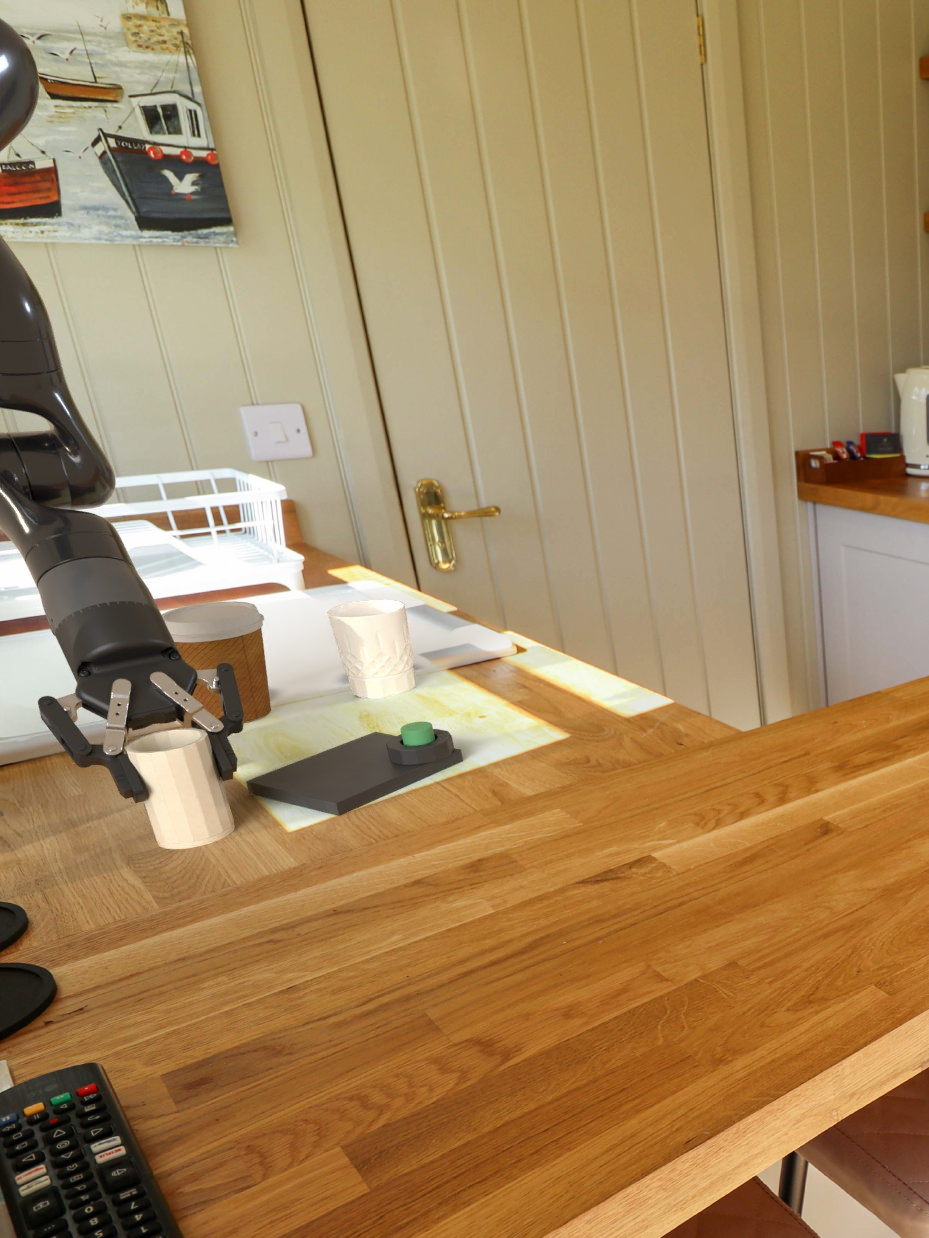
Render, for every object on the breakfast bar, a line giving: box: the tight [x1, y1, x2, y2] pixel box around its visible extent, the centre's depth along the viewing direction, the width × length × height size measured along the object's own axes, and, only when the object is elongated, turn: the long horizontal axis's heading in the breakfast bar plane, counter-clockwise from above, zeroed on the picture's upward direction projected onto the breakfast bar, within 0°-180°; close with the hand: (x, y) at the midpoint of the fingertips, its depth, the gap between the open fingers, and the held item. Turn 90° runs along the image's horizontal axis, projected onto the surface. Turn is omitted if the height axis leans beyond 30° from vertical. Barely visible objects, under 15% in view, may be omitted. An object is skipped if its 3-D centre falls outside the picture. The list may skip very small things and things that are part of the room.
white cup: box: [327, 599, 417, 699], centre depth 129 cm, size 8×8×10 cm
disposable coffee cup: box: [161, 600, 272, 724], centre depth 120 cm, size 10×10×12 cm
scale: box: [245, 728, 464, 817], centre depth 107 cm, size 14×12×3 cm
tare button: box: [400, 721, 435, 746], centre depth 109 cm, size 3×3×2 cm
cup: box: [125, 727, 236, 850], centre depth 94 cm, size 6×6×9 cm
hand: (185, 786), depth 93 cm, fingers closed on cup, 5 cm apart
